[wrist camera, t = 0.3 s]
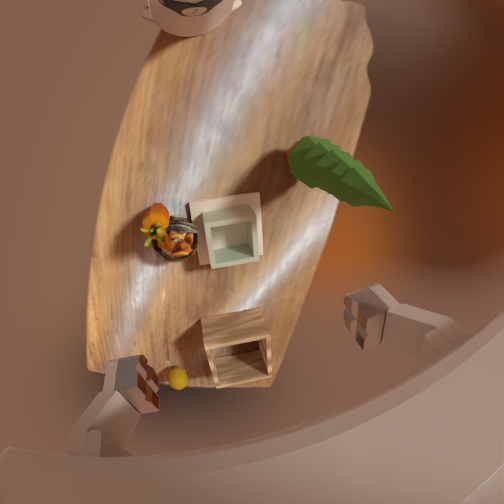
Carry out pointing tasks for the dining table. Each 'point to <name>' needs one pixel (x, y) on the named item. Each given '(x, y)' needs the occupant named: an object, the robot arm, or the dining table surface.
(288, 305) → the dining table surface
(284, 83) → the dining table surface
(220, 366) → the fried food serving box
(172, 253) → the bowl of food
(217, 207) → the open rectangular box
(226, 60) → the dining table surface
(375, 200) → the decorative tree
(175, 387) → the lemon
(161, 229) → the carrot
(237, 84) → the dining table surface
